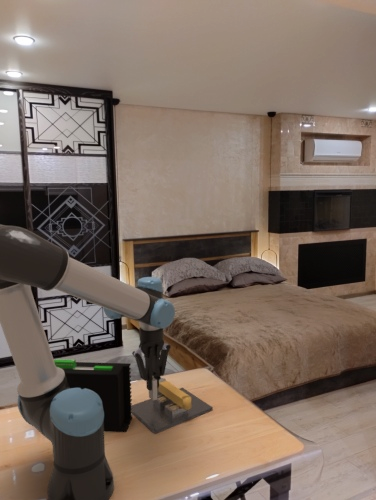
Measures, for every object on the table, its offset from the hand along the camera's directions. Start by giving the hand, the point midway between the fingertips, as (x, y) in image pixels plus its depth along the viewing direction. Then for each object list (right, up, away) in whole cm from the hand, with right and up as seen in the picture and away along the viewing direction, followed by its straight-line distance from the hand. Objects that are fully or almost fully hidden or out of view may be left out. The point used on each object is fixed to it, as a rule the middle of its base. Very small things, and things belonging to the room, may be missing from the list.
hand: (153, 398), depth 128 cm
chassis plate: (+5, -5, +3) cm, 8 cm away
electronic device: (-21, -6, -2) cm, 22 cm away
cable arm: (+6, -4, +3) cm, 8 cm away
